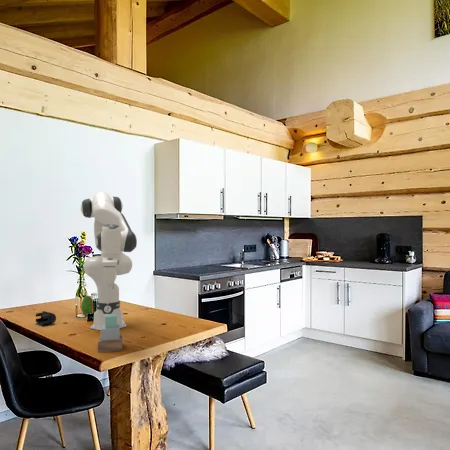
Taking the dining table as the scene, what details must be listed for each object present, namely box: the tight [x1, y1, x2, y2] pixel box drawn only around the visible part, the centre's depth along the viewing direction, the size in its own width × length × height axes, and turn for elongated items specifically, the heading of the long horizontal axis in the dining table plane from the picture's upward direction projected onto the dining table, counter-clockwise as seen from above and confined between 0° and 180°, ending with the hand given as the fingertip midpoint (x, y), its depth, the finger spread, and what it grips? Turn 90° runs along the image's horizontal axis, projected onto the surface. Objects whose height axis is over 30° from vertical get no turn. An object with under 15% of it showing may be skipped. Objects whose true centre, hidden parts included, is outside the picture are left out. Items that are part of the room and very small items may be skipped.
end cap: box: [35, 310, 57, 328], centre depth 221 cm, size 10×7×7 cm
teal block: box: [105, 314, 117, 328], centre depth 178 cm, size 5×5×5 cm
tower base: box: [97, 333, 124, 353], centre depth 177 cm, size 10×10×5 cm
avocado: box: [80, 295, 93, 316], centre depth 245 cm, size 8×8×12 cm
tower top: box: [100, 324, 121, 341], centre depth 177 cm, size 8×8×5 cm
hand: (111, 291), depth 178 cm, fingers open, 8 cm apart
